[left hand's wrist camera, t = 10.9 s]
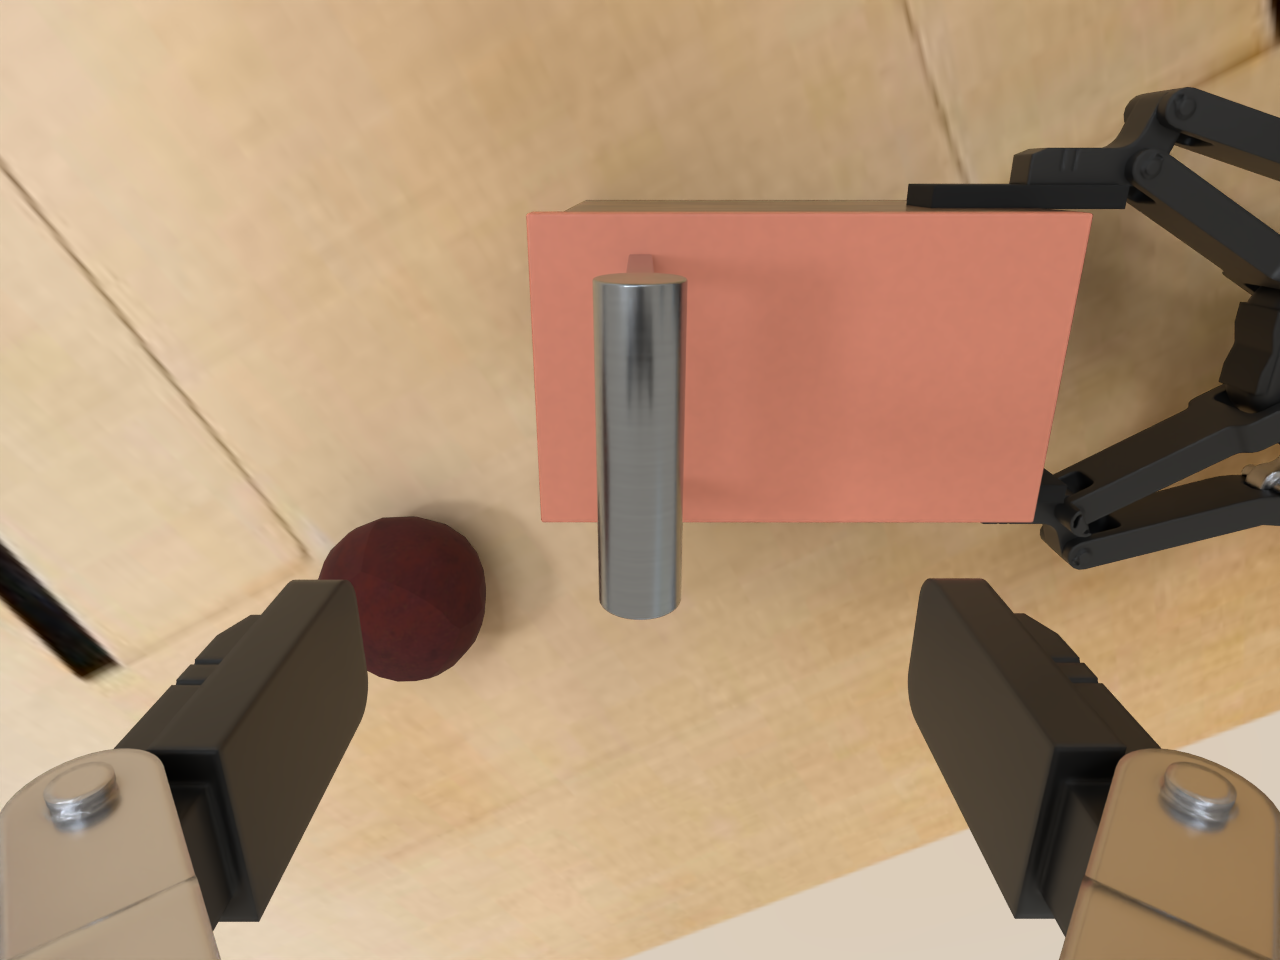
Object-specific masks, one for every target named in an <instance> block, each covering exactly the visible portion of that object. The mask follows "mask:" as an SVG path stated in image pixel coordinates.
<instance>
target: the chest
mask: <svg viewBox="0 0 1280 960" xmlns="http://www.w3.org/2000/svg"><path fill="white" fill-rule="evenodd" d="M906 203H907V200H586V201H583V202H581V203H579V204H577V205H576V206H574V207H572V208H570V209H568V210H566V211H564V212H1074V211H1064V210H1053V209H1042V208H926V207H918V206H910V205H906Z"/></svg>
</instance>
